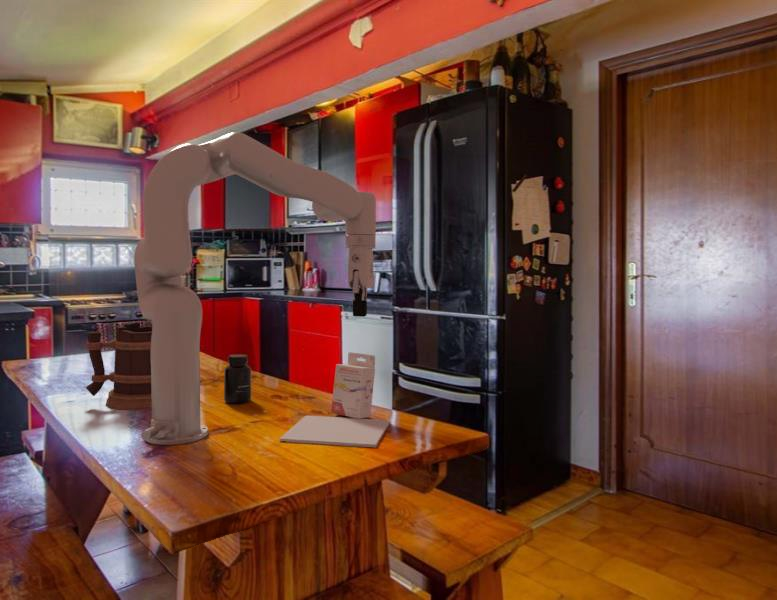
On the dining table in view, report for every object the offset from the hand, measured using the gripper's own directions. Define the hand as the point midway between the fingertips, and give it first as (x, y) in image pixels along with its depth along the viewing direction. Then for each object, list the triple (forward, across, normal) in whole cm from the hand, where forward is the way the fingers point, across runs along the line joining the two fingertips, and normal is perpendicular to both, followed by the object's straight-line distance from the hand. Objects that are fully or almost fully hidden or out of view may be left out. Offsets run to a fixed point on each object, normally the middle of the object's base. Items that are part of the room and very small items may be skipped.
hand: (359, 315), depth 147 cm
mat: (+23, -22, 0) cm, 32 cm away
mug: (+23, -7, +57) cm, 62 cm away
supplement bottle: (+23, -1, +32) cm, 40 cm away
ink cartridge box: (+23, -10, 0) cm, 25 cm away
